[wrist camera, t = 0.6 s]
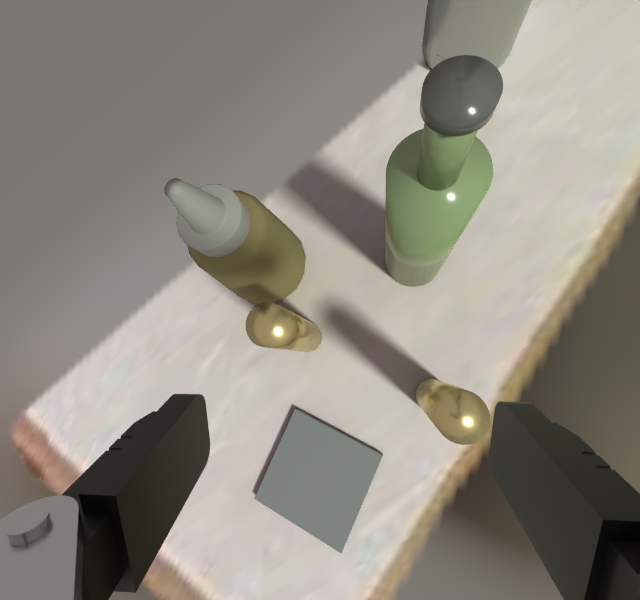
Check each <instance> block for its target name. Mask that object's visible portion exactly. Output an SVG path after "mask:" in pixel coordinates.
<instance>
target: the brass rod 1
mask: <svg viewBox="0 0 640 600" xmlns="http://www.w3.org/2000/svg"><path fill="white" fill-rule="evenodd" d="M246 331H247V334H248V336H249V338H250V340H251V341H252V342H253V343H255V344H256V345H258V346H261V347H268V348H277V349H285V350H294V351H302V352H311V351H313V350H315V349H316V348H318V346H319V345H320V343H321V340H322V333H321V331H320V329H319V327H318V326H317V325H315V324H314V323H312V322H310V321H308V320H306V319H304V318H302V317H300V316H299V315H297V314H295V313H293V312H291V311H289V310H287V309H286V308H284V307H282V306H280V305H278V304H276V303H273V302H264V303H261V304H259V305H257V306H255V307H254V308H253V309H252V310H251V311H250V313H249V315H248V317H247V320H246Z"/></svg>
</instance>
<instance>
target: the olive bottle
mask: <svg viewBox="0 0 640 600" xmlns="http://www.w3.org/2000/svg"><path fill="white" fill-rule="evenodd" d="M502 90H503V81H502V77H501V74H500V72H499V71H498V69H497V68H496V67H495V66H494V65H493V64H492V63H491V62H489V61H488V60H486V59H484V58H481V57H478V56H473V55H460V56H455V57H451V58H448V59H446V60H444V61H442V62H440V63H439V64H437V65H436V66H435V67H434V68H433V69H432V70H431V71H430V72H429V73H428V75H427V76H426V78H425V80H424V83H423V87H422V94H421V101H420V113H421V116H422V119H423V121H424V122H425V124H424V129H421V130H418V131H416V132H414V133H412V134H411V135H409V136H408V137H406V138H405V139H404V140H402V141H401V142H400V143H399V144H398V146H397V147H396V148H395V149H394V151H393V152H392V154H391V156H390V158H389V161H388V164H387V168H386V221H385V265H386V268H387V271H388V273H389V274H390V276H391V277H392V278H393V279H394V280H395V281H397V282H398V283H400V284H402V285H405V286H421V285H424V284H426V283H428V282H430V281H431V280H432V279H433V278H434V277H435V276H436V275H437V273H438V272H439V270H440V268H441V267H442V265H443V264H444V262H445V260H446V259H447V257H448V255H449V254H450V252H451V250H452V249H453V247H454V245H455V244H456V242H457V241H458V239H459V237H460V236H461V234H462V232H463V231H464V229H465V227H466V226H467V224H468V222H469V221H470V219H471V218H472V216H473V214H474V213H475V211H476V209H477V208H478V206H479V204H480V203H481V201H482V199H483V198H484V196H485V195H486V193H487V191H488V189H489V187H490V184H491V181H492V176H493V165H492V160H491V156H490V154H489V152H488V150H487V148H486V147H485V145H484V144H483V143H482V142H481V141H480V140H479V139H478V138H477V137H476V133H477V131H478V130H479V129H480V128H482V127H483V126H484V125H485V124H486V123H487V122H488V121H489V120H490V118H491V117H492V115H493V113H494V111H495V108H496V106H497V104H498V102H499V99H500V97H501V94H502Z"/></svg>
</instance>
